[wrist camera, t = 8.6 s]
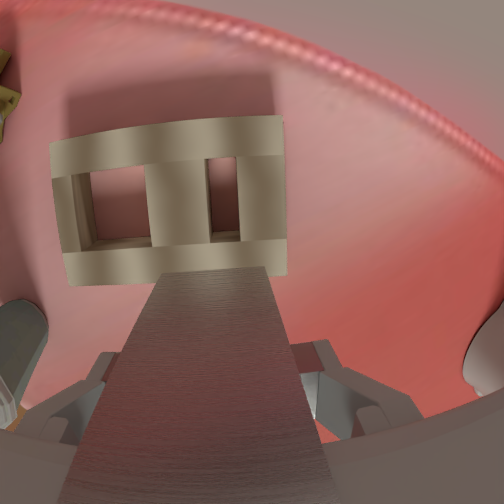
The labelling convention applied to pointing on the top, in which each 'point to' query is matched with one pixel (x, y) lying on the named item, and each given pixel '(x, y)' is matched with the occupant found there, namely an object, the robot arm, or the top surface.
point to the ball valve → (6, 94)
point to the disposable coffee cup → (18, 352)
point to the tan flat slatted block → (174, 199)
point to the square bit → (203, 404)
